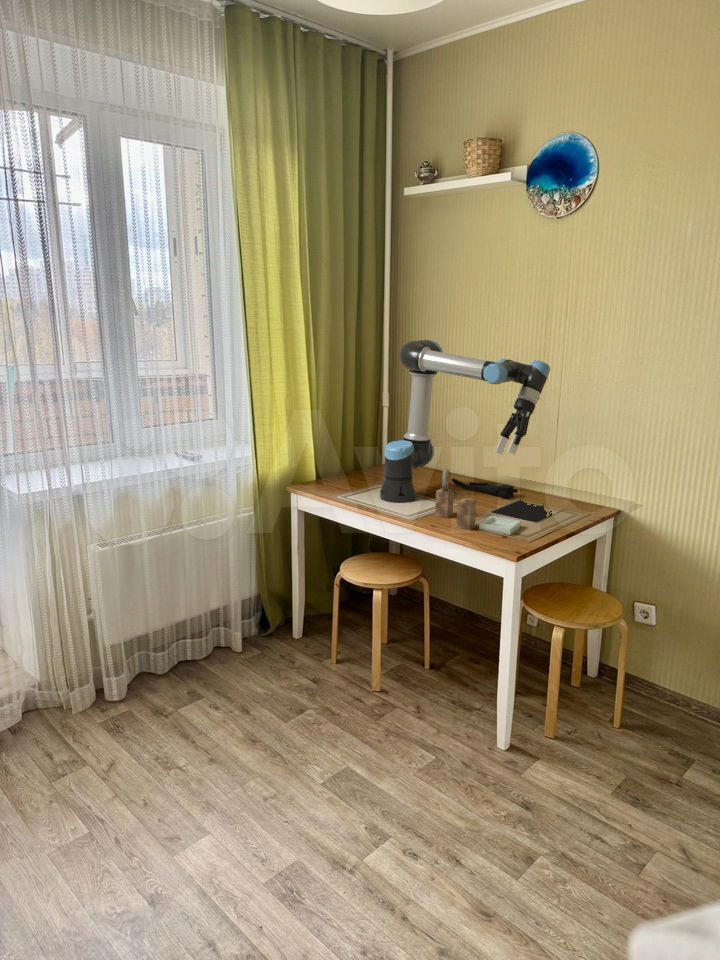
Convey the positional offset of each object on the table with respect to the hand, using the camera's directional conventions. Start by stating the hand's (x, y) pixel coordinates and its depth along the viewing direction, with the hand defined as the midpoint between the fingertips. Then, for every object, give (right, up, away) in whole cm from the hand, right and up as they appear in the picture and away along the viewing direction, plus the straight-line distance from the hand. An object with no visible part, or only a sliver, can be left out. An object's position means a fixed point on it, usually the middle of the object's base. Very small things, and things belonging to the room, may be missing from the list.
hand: (504, 453), depth 260 cm
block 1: (-22, -24, +8) cm, 33 cm away
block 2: (-16, -27, -6) cm, 32 cm away
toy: (-1, -16, +44) cm, 46 cm away
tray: (-3, -28, -7) cm, 29 cm away
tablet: (+13, -23, +16) cm, 30 cm away
